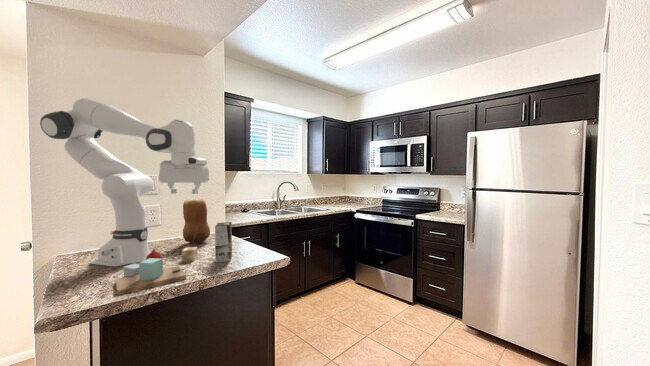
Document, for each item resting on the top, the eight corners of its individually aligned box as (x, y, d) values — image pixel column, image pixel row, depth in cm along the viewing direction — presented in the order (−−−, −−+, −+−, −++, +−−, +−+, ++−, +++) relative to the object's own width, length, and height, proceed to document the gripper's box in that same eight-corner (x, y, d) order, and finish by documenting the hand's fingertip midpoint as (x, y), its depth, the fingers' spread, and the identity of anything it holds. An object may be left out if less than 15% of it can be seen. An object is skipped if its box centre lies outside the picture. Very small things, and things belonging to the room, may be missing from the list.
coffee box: (230, 261, 117) (230, 225, 117) (215, 262, 116) (214, 226, 115) (232, 255, 126) (232, 221, 126) (218, 256, 125) (217, 222, 124)
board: (117, 295, 85) (117, 288, 85) (115, 283, 94) (115, 277, 94) (186, 278, 98) (186, 273, 98) (178, 269, 107) (178, 264, 107)
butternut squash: (194, 239, 155) (193, 197, 154) (215, 241, 152) (214, 197, 151) (176, 246, 141) (175, 199, 140) (199, 247, 139) (198, 200, 138)
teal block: (139, 279, 94) (139, 262, 94) (150, 274, 99) (150, 258, 99) (152, 280, 93) (152, 263, 93) (162, 274, 98) (162, 258, 98)
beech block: (182, 261, 117) (181, 250, 117) (186, 258, 122) (185, 247, 122) (194, 261, 118) (194, 250, 118) (197, 257, 123) (197, 246, 123)
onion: (143, 269, 108) (142, 250, 107) (158, 265, 113) (157, 246, 112) (150, 272, 105) (149, 252, 104) (165, 267, 110) (164, 248, 109)
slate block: (124, 277, 100) (123, 266, 100) (135, 273, 104) (135, 263, 104) (133, 279, 98) (133, 269, 98) (144, 275, 102) (144, 265, 101)
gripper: (154, 160, 108) (155, 194, 108) (202, 159, 105) (203, 194, 106) (165, 160, 114) (166, 192, 114) (210, 160, 112) (211, 193, 112)
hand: (184, 193), depth 110 cm, fingers open, 8 cm apart
